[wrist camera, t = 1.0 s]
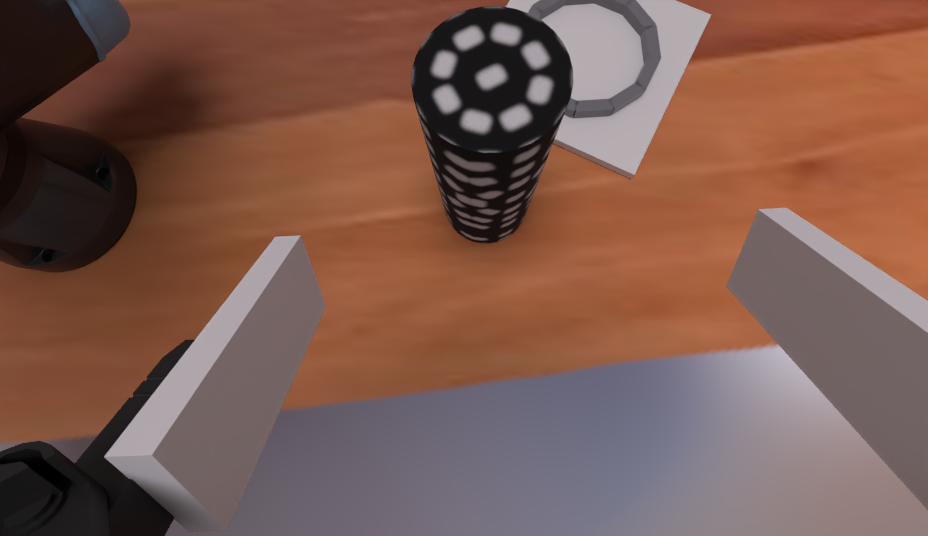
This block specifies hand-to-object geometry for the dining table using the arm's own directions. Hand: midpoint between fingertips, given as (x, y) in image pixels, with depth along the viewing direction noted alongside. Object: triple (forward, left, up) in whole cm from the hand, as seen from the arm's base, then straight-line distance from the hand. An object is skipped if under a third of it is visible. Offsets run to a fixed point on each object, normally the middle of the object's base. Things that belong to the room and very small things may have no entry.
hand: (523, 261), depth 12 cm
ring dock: (-4, +28, -26) cm, 39 cm away
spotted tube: (-6, +9, -27) cm, 29 cm away
